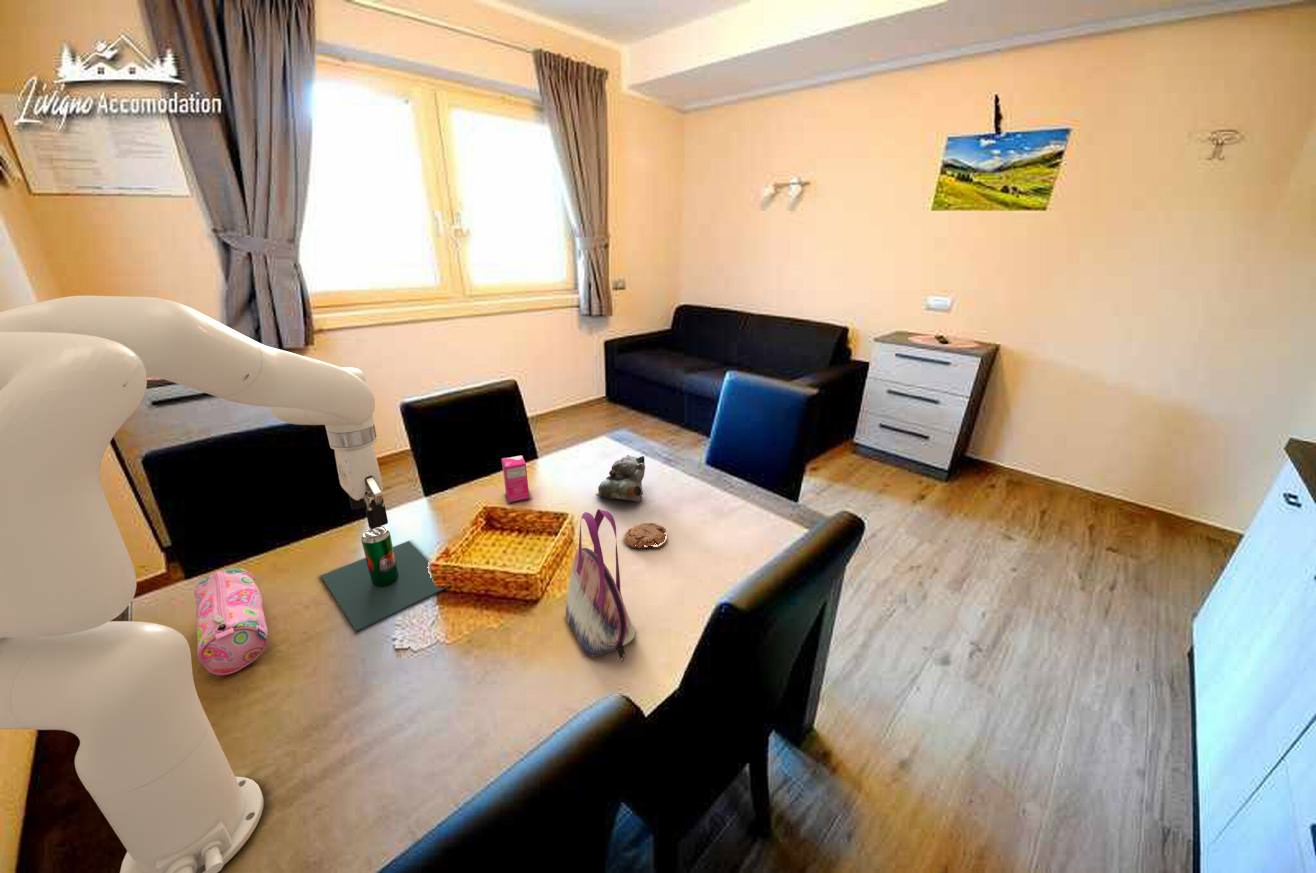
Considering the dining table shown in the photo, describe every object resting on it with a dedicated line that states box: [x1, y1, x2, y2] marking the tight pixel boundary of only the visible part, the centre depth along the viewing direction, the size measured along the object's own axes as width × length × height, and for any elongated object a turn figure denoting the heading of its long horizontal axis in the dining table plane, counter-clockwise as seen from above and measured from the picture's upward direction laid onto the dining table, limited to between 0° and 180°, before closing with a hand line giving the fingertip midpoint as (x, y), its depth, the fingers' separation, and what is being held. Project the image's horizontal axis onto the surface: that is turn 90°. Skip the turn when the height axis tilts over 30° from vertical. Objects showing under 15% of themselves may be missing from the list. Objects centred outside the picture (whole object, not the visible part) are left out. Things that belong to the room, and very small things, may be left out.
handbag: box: [565, 508, 636, 663], centre depth 86 cm, size 21×10×25 cm, turn 30°
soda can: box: [360, 525, 399, 587], centre depth 99 cm, size 5×5×12 cm
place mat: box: [320, 540, 448, 633], centre depth 101 cm, size 22×18×1 cm
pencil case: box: [193, 567, 269, 676], centre depth 85 cm, size 21×9×9 cm, turn 41°
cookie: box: [624, 522, 669, 549], centre depth 117 cm, size 10×11×3 cm
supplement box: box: [501, 455, 531, 504], centre depth 133 cm, size 6×6×12 cm
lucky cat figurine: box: [594, 454, 646, 503], centre depth 136 cm, size 15×12×14 cm
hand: (369, 516), depth 94 cm, fingers open, 9 cm apart
